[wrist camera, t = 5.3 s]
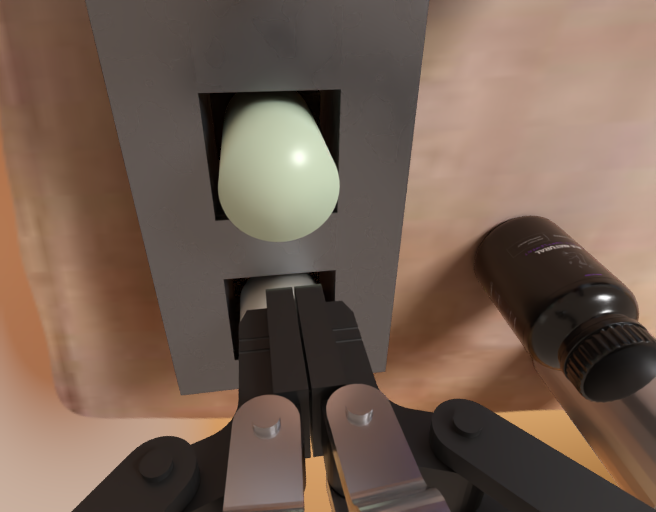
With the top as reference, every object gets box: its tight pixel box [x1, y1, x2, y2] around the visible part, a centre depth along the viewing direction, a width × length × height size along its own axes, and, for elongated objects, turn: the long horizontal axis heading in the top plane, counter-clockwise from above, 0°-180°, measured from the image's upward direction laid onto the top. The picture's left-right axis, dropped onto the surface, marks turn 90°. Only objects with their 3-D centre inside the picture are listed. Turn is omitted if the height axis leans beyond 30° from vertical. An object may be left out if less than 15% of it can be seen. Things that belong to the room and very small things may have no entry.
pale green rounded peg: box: [218, 91, 340, 242], centre depth 22 cm, size 5×5×8 cm
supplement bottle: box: [474, 216, 656, 403], centre depth 29 cm, size 7×7×12 cm
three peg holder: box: [85, 0, 429, 395], centre depth 23 cm, size 30×13×6 cm, turn 179°
